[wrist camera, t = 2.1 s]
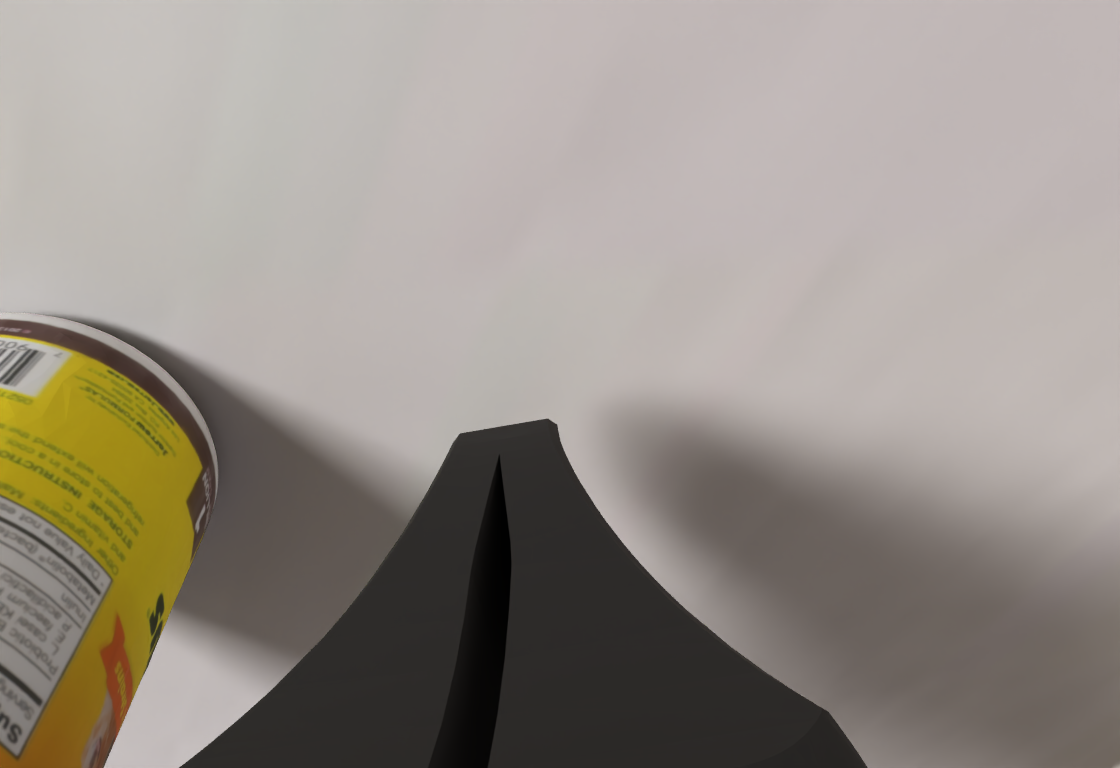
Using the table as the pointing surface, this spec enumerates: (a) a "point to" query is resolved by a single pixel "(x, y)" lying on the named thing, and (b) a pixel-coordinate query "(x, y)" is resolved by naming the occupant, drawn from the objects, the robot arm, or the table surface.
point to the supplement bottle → (88, 531)
